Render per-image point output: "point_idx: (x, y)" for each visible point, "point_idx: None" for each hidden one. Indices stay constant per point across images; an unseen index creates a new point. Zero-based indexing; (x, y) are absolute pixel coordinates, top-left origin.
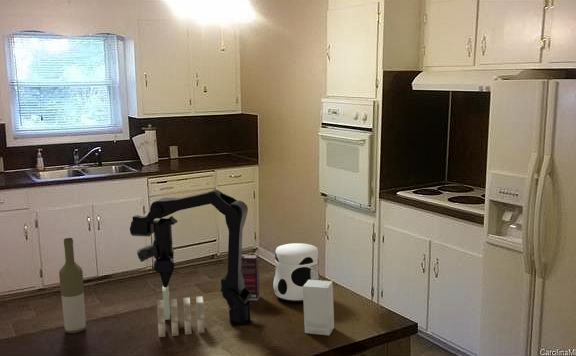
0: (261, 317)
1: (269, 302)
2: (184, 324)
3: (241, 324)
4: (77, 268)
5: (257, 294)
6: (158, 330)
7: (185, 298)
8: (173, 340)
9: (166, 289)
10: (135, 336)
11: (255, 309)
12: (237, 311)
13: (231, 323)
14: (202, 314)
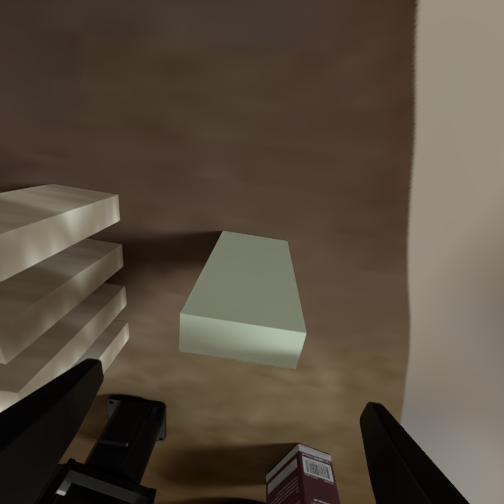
0: (154, 452)
1: (243, 485)
2: (104, 294)
3: (109, 414)
4: None
5: (266, 497)
6: (24, 189)
7: (10, 400)
8: None
9: (208, 343)
10: (66, 74)
11: (210, 456)
12: (90, 452)
13: (115, 400)
14: None
